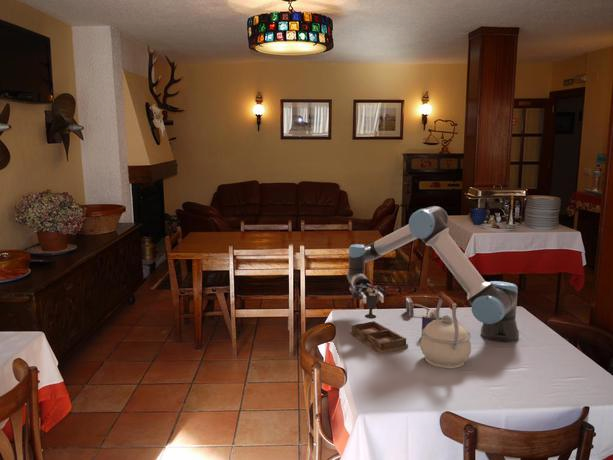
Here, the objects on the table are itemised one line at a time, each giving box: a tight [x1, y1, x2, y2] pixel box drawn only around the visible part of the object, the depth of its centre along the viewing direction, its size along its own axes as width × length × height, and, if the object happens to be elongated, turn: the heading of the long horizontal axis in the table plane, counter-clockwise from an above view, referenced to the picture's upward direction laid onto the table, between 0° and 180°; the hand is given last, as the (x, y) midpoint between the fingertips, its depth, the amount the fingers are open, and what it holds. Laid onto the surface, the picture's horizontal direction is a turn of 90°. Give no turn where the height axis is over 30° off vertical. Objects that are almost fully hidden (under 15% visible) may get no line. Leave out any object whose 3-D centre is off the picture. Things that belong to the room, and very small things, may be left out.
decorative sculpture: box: [405, 297, 436, 317], centre depth 245 cm, size 16×10×7 cm, turn 66°
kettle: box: [419, 291, 472, 369], centre depth 196 cm, size 25×18×25 cm
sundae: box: [364, 283, 379, 320], centre depth 218 cm, size 7×7×15 cm
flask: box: [421, 312, 443, 337], centre depth 219 cm, size 9×3×11 cm, turn 87°
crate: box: [349, 320, 409, 355], centre depth 216 cm, size 23×13×4 cm, turn 27°
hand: (374, 299), depth 213 cm, fingers closed on sundae, 6 cm apart
